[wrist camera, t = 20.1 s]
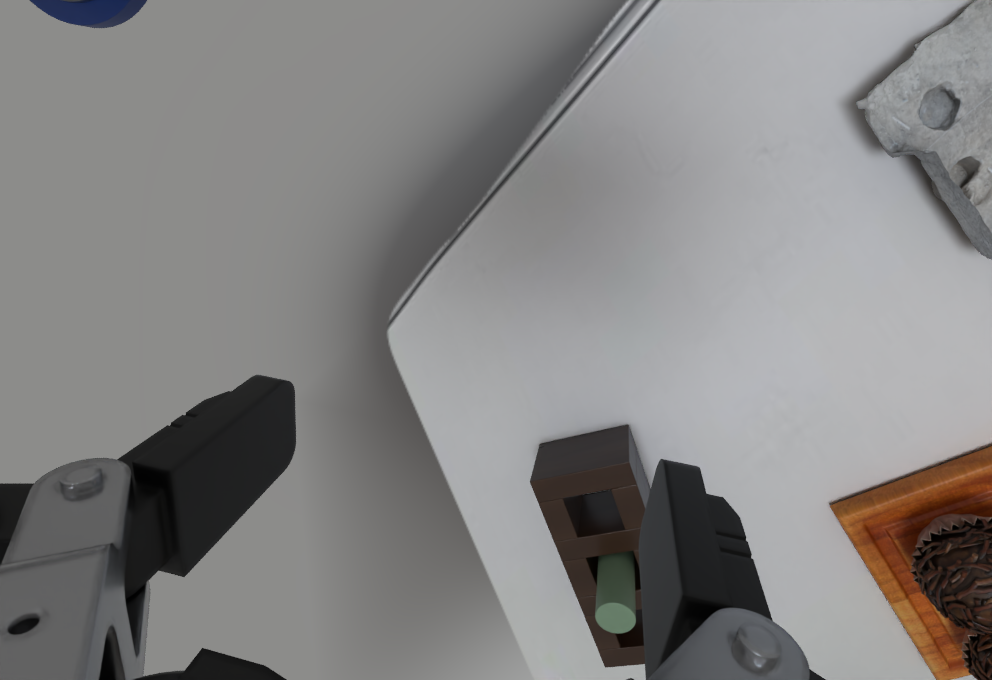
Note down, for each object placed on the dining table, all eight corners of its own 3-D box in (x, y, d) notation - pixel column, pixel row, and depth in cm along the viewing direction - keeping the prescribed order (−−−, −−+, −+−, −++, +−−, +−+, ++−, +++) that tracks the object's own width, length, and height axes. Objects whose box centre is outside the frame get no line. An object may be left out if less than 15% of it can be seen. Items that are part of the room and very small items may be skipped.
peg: (597, 536, 45) (592, 628, 37) (603, 510, 44) (598, 599, 36) (630, 543, 45) (631, 638, 37) (636, 517, 44) (639, 608, 36)
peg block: (539, 443, 43) (529, 481, 39) (628, 424, 41) (629, 461, 37) (606, 615, 48) (605, 667, 43) (690, 606, 46) (697, 659, 41)
